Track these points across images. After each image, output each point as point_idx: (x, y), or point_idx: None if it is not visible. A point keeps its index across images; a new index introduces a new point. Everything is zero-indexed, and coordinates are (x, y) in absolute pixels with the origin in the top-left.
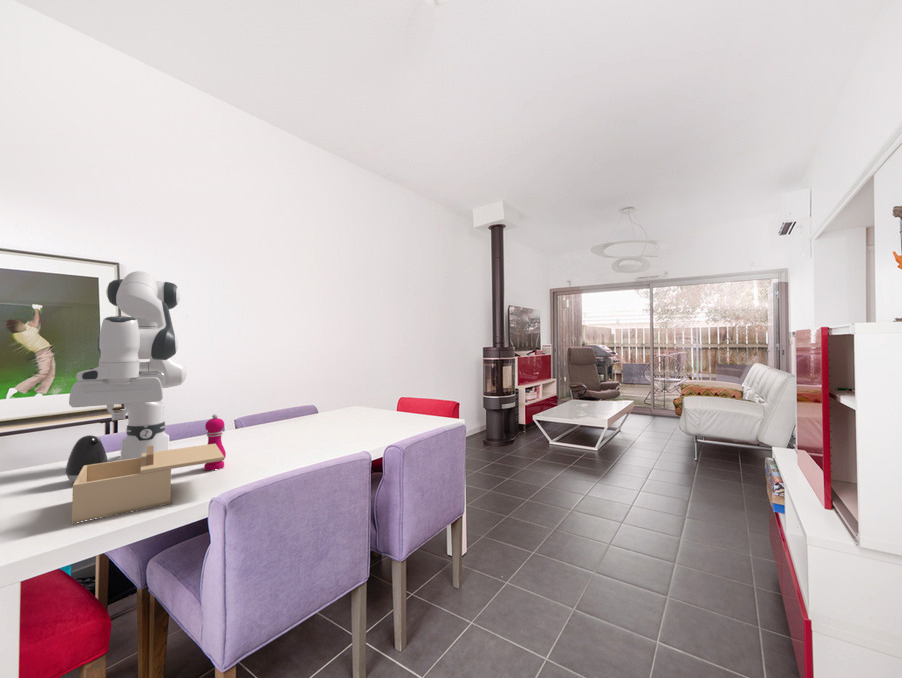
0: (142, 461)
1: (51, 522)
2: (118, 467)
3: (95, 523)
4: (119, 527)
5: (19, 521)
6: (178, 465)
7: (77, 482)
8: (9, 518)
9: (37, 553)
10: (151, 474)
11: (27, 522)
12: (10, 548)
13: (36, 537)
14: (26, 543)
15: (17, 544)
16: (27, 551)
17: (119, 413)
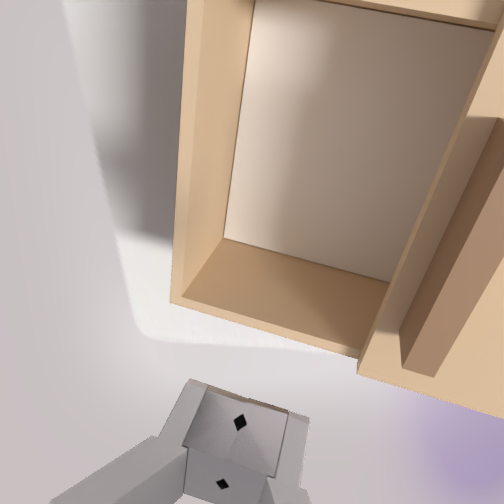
0: (419, 241)
1: (175, 175)
2: (362, 2)
3: None
4: (296, 344)
5: (103, 87)
6: (495, 412)
7: (179, 281)
8: (71, 22)
9: (171, 337)
10: None
11: (123, 118)
12: (128, 275)
13: (159, 256)
14: (148, 274)
15: (134, 265)
16: (156, 315)
17: (230, 485)
